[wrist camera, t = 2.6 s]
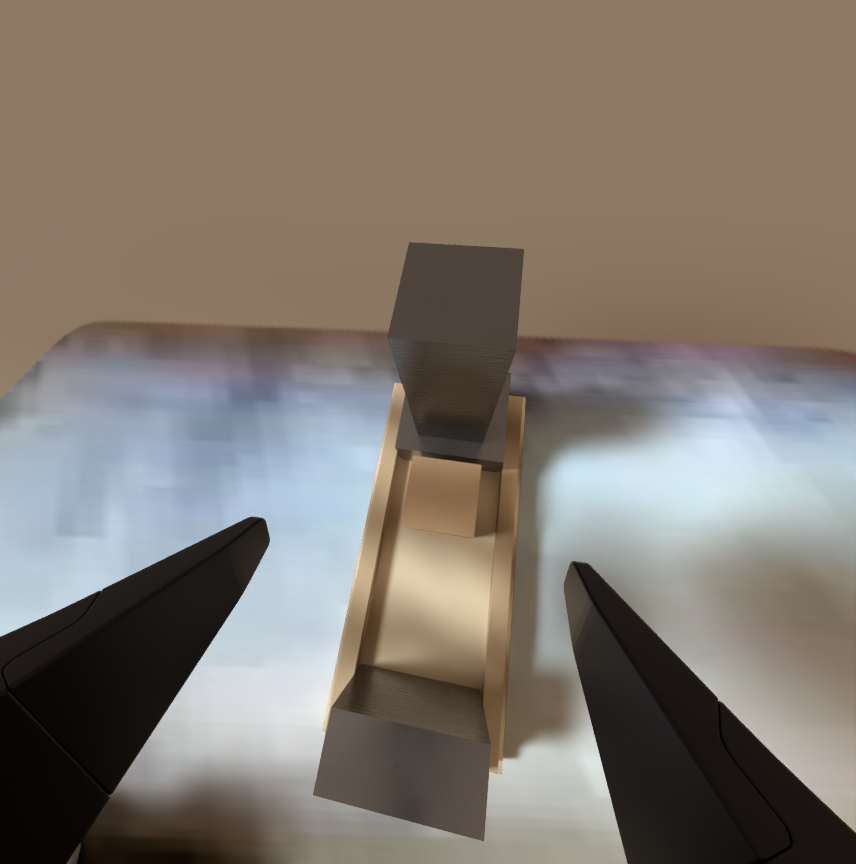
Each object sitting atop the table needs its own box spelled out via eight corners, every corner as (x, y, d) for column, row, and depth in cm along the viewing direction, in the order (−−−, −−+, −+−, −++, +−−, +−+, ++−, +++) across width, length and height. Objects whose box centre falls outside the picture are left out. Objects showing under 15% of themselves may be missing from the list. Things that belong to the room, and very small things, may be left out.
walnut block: (469, 537, 20) (473, 538, 17) (409, 528, 21) (400, 526, 17) (476, 477, 22) (481, 464, 18) (419, 469, 22) (412, 455, 18)
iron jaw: (474, 755, 17) (483, 841, 12) (350, 725, 18) (313, 794, 13) (480, 689, 18) (490, 744, 13) (361, 663, 19) (331, 707, 14)
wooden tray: (498, 758, 18) (504, 788, 16) (330, 718, 19) (315, 741, 17) (522, 403, 24) (529, 391, 22) (397, 389, 25) (392, 376, 23)
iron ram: (496, 472, 21) (559, 384, 9) (401, 459, 22) (340, 361, 10) (503, 392, 23) (563, 229, 11) (415, 383, 24) (379, 219, 12)
